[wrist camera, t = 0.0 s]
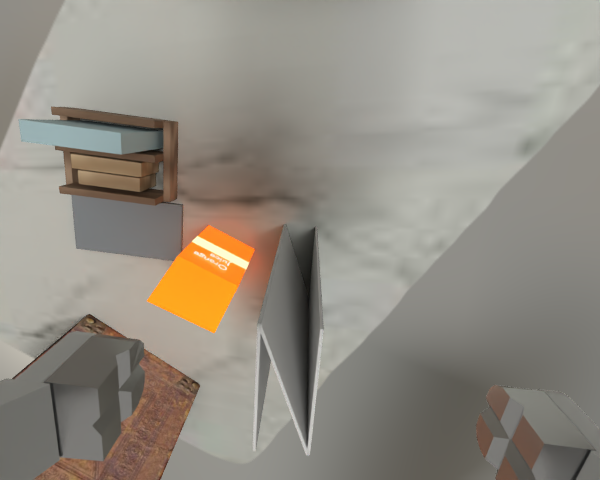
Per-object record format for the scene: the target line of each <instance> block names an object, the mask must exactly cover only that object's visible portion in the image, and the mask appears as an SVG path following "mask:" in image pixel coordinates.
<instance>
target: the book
mask: <svg viewBox="0 0 600 480" xmlns="http://www.w3.org/2000/svg"><path fill="white" fill-rule="evenodd" d="M74 331H80V332H88V333H95V334H103V335H110V336H116V337H123V338H126V337H125V336H123V335H121V334H120V333H118V332H117V331H115V330H114V329H112V328H110V327H109V326H107V325H106V324H104V323H102V322H101V321H99V320H98V319H96V318H95V317H93V316H91V315H90V314H89V315H87V316H86V317H84V318H83V319H82V320H81V321H80V322H79V323H77V324H76V325H75V326H74V327H73V328H71V329H70V330H69V331H68V332H67V333H66V334H64V335H63V336H62V337H61V338H60V339H58V340H57V341H56V342H55V343H54V344H52V345H51V346H50V347H49V348H48V349H47V350H45V351H44V352H43V353H42V354H41V355H39V356H38V357H37V358H36V359H35V360H34V361H32V362H31V363H30V364H29V365H28V366H26V367H25V368H24V369H23V370H22V371H21V372H19V373H18V374H17V375H16V376H15V377H13V378H12V379H16V378H17V377H18V376H19V375H20V374H22V373H23V372H24V371H25V370H26V369H27V368H29V367H30V366H31V365H32V364H33V363H34V362H36V361H37V360H38V359H39V358H40V357H41V356H43V355H44V354H45V353H46V352H47V351H48V350H50V349H51V348H52V347H53V346H54V345H56V344H57V343H58V342H59V341H60V340H61V339H63V338H64V337H65V336H66V335H67V334H68V333H70V332H74ZM139 365H140V366H141V367H142V369H143V370H144V371H145V383H144V389H143V393H142V396H141V399H140V401H139V404H138V406H137V408H136V409H135V411H134V413H133V414H132V416H130V417H128V418H127V419H125V420H123V421H122V422H121V434H120V436H119V437H118V439H117V440H116V442H115V444H114V445H113V447H112V448H111V450H110V452H109V453H108V455H107V456H106V458H105V460H104V461H95V460H84V459H72V458H61V457H60V460H59V461H58V462H56V463H55V464H54V465H52V466H51V467H50V468H48V469H47V470H45V471H44V472H43V473H41V474H40V475H39V476H37V477H36V478H34V479H33V480H160V479H161V477H162V475H163V472H164V470H165V467H166V465H167V463H168V460H169V458H170V456H171V453H172V451H173V449H174V446H175V444H176V442H177V439H178V437H179V434H180V432H181V430H182V427H183V425H184V423H185V420H186V418H187V416H188V413H189V411H190V408H191V406H192V404H193V401H194V399H195V397H196V394H197V392H198V390H199V387H200V385H199V384H198V383H197V382H196V381H194V380H192V379H191V378H189V377H188V376H186V375H184V374H183V373H181V372H180V371H178V370H177V369H175V368H173V367H172V366H170V365H169V364H167V363H166V362H164V361H162V360H161V359H159V358H158V357H156V356H155V355H153V354H151V353H150V352H148V351H147V350H145V349H144V357H143V358H142V360H141V361H140V363H139Z"/></svg>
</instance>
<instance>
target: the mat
mask: <svg viewBox="0 0 600 480" xmlns="http://www.w3.org/2000/svg"><path fill="white" fill-rule="evenodd" d="M72 206H73V217H74V228H75V239H76V248H77V249H85V250H93V251H100V252H108V253H116V254H123V255H131V256H139V257H147V258H154V259H162V260H170V261H175V259H176V257H177V256H178V255H179V254H180V253H181V252H182V237H183V205H181V204H174V203H166V202H161V203H159V204H157V205H156V206H154V205H146V204H138V203H131V202H123V201H115V200H108V199H100V198H93V197H85V196H77V195H72Z"/></svg>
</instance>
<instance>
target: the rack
mask: <svg viewBox="0 0 600 480" xmlns="http://www.w3.org/2000/svg"><path fill="white" fill-rule="evenodd" d="M51 110H52V115H60V120H80V118H82V119H89V120H97V121H104V122H112V123H119V124H126V125H134V126H141V127H149V128H163V151H156V150H147V151H141V152H135V153H128V154H122V155H121V154H113V153H106V152H98V151H91V150H83V149H76V148H68V147H61V146H55V150H61V151H63V153H64V164H65V175H66V185H63V186H59V190H60V193H62V194H70V195H77V196H85V197H93V198H100V199H108V200H115V201H123V202H131V203H138V204H146V205H154V206H156V205H157V204H159V203H161V202H163V201H164V202H171V201H173V200H175V199H177V163H178V122H175V121H168V120H160V119H153V118H145V117H138V116H131V115H123V114H116V113H108V112H101V111H93V110H86V109H79V108H69V107H51ZM73 153H83V154H91V155H98V156H106V157H113V158H121V159H128V160H136V161H143V162H151V163H157V162H161V161H163V190H156V189H146V190H144V191H141V192H137V191H129V190H122V189H114V188H106V187H99V186H91V185H84V184H79V180H78V170H81V169H75V168H72V165H71V154H73Z"/></svg>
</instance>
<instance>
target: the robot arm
mask: <svg viewBox="0 0 600 480" xmlns="http://www.w3.org/2000/svg"><path fill="white" fill-rule="evenodd" d="M143 357H144V343H143V342H142V341H141V340H137V339H130V338H123V337H116V336H110V335H103V334H95V333H88V332H80V331H74V332H70V333H68V334H67V335H66V336H65V337H64V338H63V339H61V340H60V341H59V342H58V343H57V344H56V345H54V346H53V347H52V348H51V349H50V350H48V351H47V352H46V353H45V354H44V355H43V356H41V357H40V358H39V359H38V360H37V361H36V362H34V363H33V364H32V365H31V366H30V367H29V368H27V369H26V370H25V371H24V372H23V373H22V374H20V375H19V376H18V377H17V378H16V379H4V380H2V381H0V480H33V479H34V478H36V477H37V476H39V475H40V474H41V473H43V472H44V471H45V470H47V469H48V468H50V467H51V466H52V465H54V464H55V463H56V462H58V461H59V460H60V457H61V458H72V459H84V460H95V461H104V460H105V458H106V456H107V455H108V453H109V452H110V450H111V448H112V447H113V445H114V444H115V442H116V440H117V439H118V437H119V436H120V434H121V422H122V421H123V420H125V419H127V418H128V417H130V416H132V414H133V413H134V411H135V409H136V408H137V406H138V404H139V401H140V399H141V396H142V393H143V389H144V383H145V371H144V370H143V369H142V367H141V366H140V365H139V363H140V361H141V360H142V358H143ZM486 400H487V402H488V405H489V407H488V408H487V409H485V410H484V411H483V412H481V413H480V415H479V418H478V421H477V425H476V430H477V440H478V443H479V447H480V450H481V452H482V454H483V456H484V458H485V459H486V460H487V461H488V462H489V463H491V464H492V465H493V466H494V467H495V468H496V469H497V473H496V477H495V478H496V480H600V428H599V427H597V425H595V424H594V422H593V421H592V420H591V419H590V418H589V417H588V416H587V415H586V414H585V413H584V412H583V411H582V410H581V409H580V408H579V407H578V405H577V404H575V402H574V401H573V400H572V399H571V398H570V397H569V396H567V395H565V394H564V393H562V392H559V391H549V390H539V389H538V390H532V389H525V388H516V387H508V386H499V385H494V386H493V387H492V388H490V390H489V392H488V394H487V396H486Z"/></svg>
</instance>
